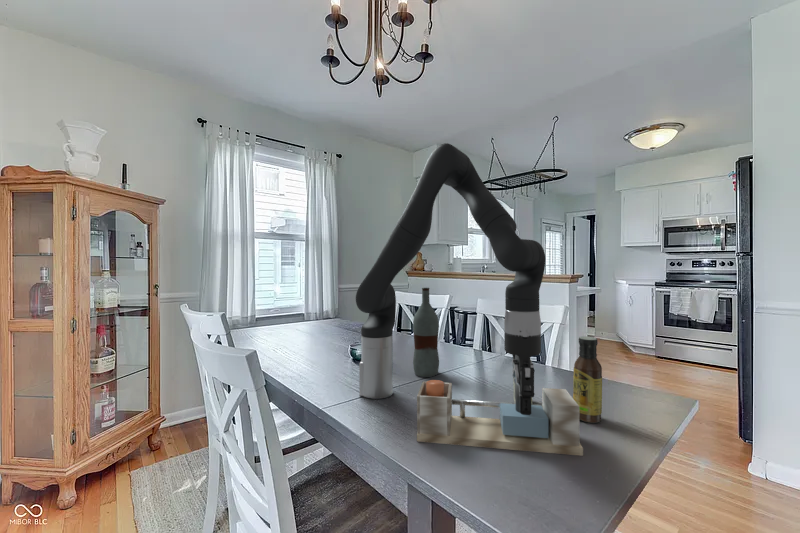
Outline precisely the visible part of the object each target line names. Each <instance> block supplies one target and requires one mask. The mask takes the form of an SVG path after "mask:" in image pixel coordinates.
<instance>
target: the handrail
mask: <svg viewBox="0 0 800 533" xmlns="http://www.w3.org/2000/svg"><path fill="white" fill-rule="evenodd" d="M500 403H507V404H516V403H515V402H505V401H504V402H501V401H488V400H487V401H486V400H474V399H473V400H471V399H469V400H468V399H457V398H456V399H453V398H452V406H459V416H460V418H465V417H466V406H470V407H485V408H497V409H500ZM531 405H537V404H533V403H532V404H531ZM538 405H539V406H542V404H538ZM542 408H543V407H542Z"/></svg>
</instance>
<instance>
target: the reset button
mask: <svg viewBox="0 0 800 533" xmlns="http://www.w3.org/2000/svg"><path fill="white" fill-rule="evenodd" d="M425 382H426V395H427V396H438V397H444V383H445V381H443V380H439V379H430V380H427V381H425Z"/></svg>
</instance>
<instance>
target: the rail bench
mask: <svg viewBox="0 0 800 533" xmlns="http://www.w3.org/2000/svg"><path fill="white" fill-rule="evenodd" d="M426 382H427V381H422V383H421V385H420V387H419V390H418V392H417V395H416V430H417V431H416V442H419V443H430V444H431V443H432V444H442V445H455V446H467V447H476V448H477V447H478V448H489V449H490V448H491V449H501V450H511V451H522V452H533V453H534V452H536V453H546V454H547V453H548V454H558V455H559V454H560V455H571V456H580V457H582V456H583V457H584V447H583V446H582V444H581V443H580V419H579V405H578V404H577V403H576V402H575V400H574V399H573V396H572V395H571V394H570V393H569V392H568V390H567V389H566V388H551V387H550V388H548V387H547V388H546V387H542V389H541V393H542V395H541V397H542V402H541V403H542V404H541V405H542V407H543V410H544V412H545V413H546V415H547V417H548V438H539V437H526V436H514V435H503V432H502V427H501V423H500V418H490V417H479V416H477V417H474V416H465V418H460V415H452V414H453V412H452V411H453V405H452V399H453V397H452V396H453V394H452V393H453V392H452V391H453V387H452V386H453V384H452V382H444V397H438V396H427V395H426Z"/></svg>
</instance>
